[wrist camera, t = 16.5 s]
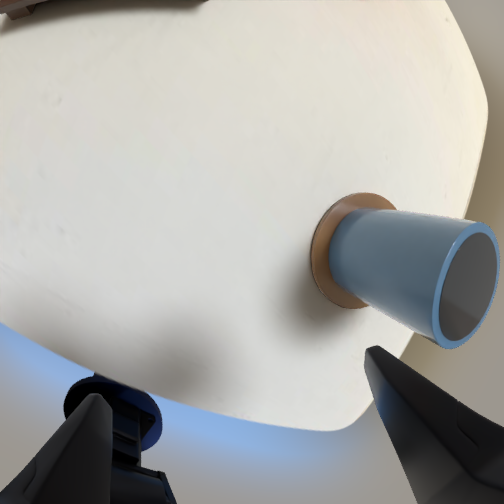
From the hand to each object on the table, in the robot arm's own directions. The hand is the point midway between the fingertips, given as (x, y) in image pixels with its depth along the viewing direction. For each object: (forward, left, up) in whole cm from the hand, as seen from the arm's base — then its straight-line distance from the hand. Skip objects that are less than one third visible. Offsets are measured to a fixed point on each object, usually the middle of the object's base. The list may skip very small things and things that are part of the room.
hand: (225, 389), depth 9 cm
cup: (+9, -9, -11) cm, 17 cm away
